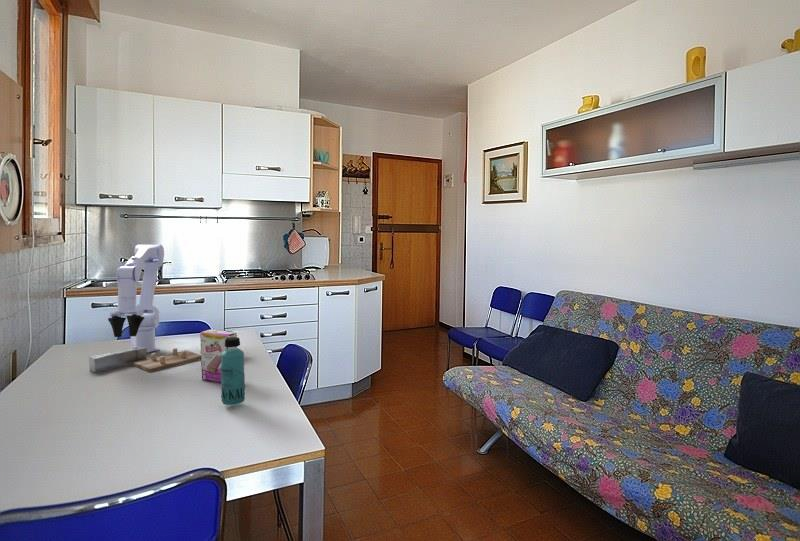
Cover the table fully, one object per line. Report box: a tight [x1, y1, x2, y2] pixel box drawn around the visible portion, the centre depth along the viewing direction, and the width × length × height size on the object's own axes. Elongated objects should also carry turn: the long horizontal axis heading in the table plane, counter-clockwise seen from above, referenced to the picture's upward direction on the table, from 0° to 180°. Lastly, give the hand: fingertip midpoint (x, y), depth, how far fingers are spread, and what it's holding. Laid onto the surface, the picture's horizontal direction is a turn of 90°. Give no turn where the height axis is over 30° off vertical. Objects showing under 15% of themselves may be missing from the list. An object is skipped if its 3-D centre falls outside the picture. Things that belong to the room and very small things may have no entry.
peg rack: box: [132, 347, 201, 373], centre depth 172 cm, size 12×20×4 cm, turn 145°
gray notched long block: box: [88, 346, 148, 374], centre depth 168 cm, size 17×4×5 cm, turn 144°
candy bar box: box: [199, 329, 238, 384], centre depth 153 cm, size 11×5×16 cm, turn 71°
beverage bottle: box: [220, 336, 246, 406], centre depth 132 cm, size 6×7×20 cm
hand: (125, 336), depth 166 cm, fingers open, 7 cm apart
